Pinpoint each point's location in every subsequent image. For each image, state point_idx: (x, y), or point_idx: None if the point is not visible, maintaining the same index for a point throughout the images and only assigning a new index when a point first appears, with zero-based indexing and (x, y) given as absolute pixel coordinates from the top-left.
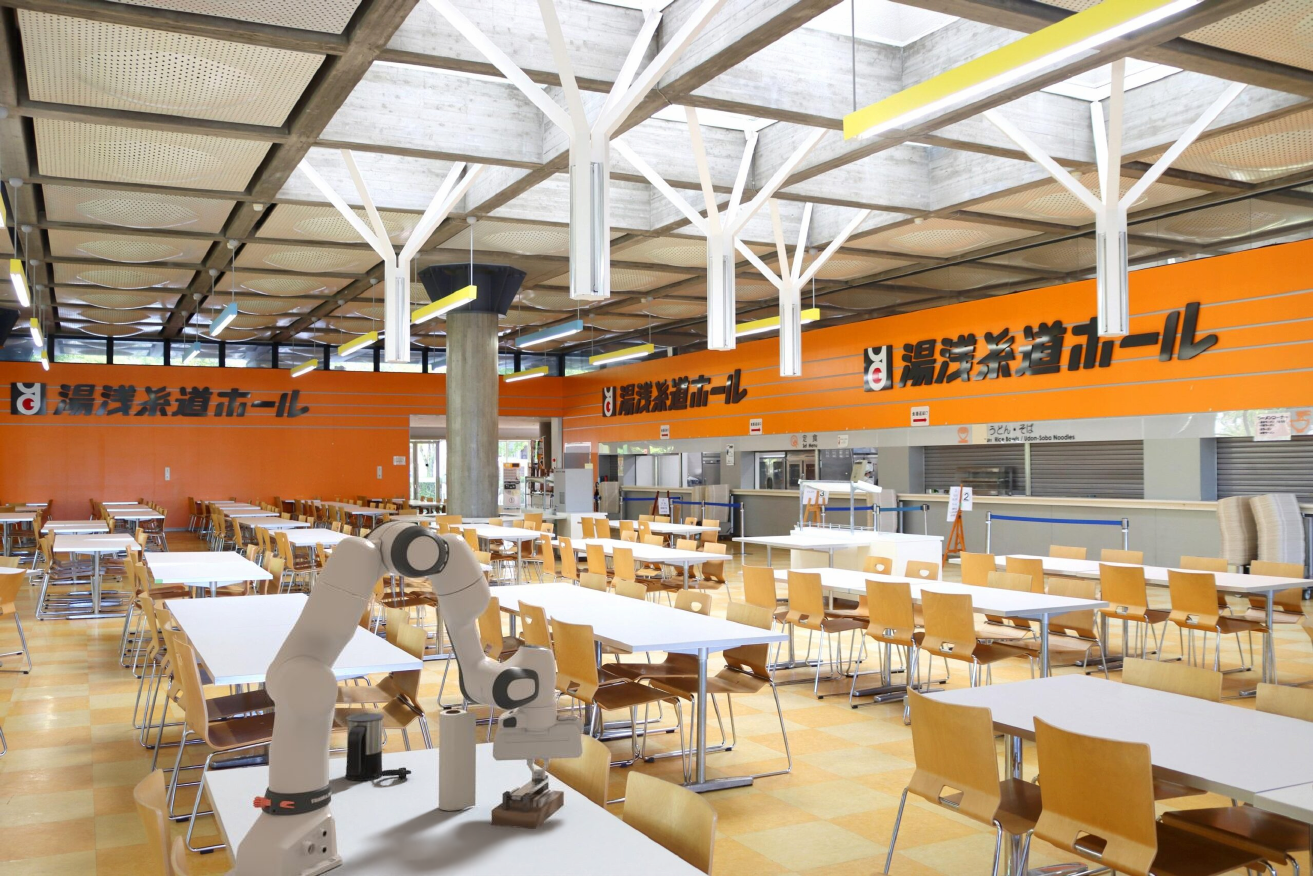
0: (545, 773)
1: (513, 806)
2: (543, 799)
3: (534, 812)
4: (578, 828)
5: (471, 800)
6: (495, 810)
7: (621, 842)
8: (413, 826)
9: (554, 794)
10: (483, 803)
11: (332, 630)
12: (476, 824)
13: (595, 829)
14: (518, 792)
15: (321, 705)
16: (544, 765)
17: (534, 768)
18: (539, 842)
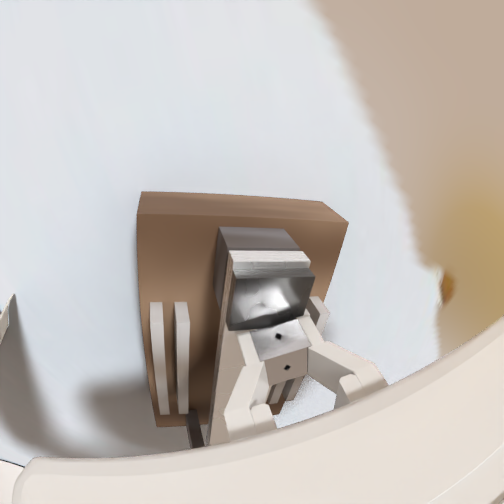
0: (314, 326)
1: (202, 400)
2: (297, 385)
3: (275, 409)
4: (358, 353)
5: (2, 316)
6: (168, 426)
7: (409, 369)
8: (17, 414)
9: (322, 302)
10: (13, 253)
11: None
12: (117, 400)
13: (387, 345)
14: (225, 431)
15: None
16: (330, 368)
17: (264, 380)
18: (289, 419)
